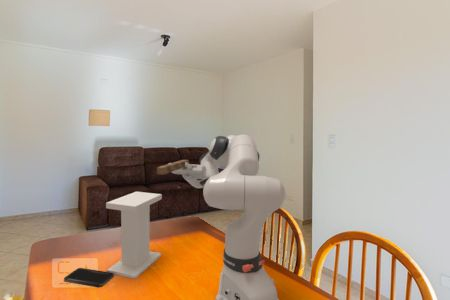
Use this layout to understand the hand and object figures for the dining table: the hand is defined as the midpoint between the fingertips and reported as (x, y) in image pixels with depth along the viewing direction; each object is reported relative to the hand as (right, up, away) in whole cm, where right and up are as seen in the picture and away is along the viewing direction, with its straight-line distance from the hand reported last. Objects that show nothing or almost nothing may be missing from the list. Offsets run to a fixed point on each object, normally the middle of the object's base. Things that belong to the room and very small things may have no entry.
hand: (181, 163), depth 133 cm
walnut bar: (-2, -3, -7) cm, 7 cm away
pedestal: (-13, -38, -28) cm, 49 cm away
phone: (-26, -39, -39) cm, 61 cm away
